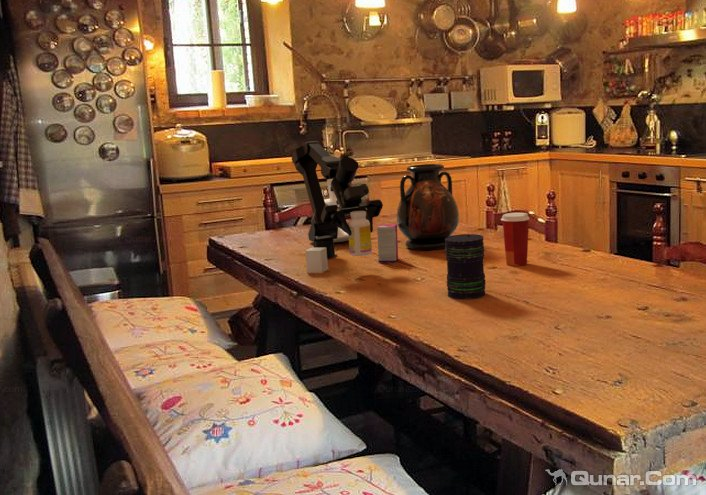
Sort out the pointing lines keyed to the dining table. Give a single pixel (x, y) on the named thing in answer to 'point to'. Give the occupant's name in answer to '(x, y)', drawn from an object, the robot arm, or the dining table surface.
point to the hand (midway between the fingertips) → (361, 233)
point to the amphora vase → (427, 208)
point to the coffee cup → (516, 238)
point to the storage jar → (465, 266)
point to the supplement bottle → (359, 234)
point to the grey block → (316, 260)
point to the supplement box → (387, 243)
